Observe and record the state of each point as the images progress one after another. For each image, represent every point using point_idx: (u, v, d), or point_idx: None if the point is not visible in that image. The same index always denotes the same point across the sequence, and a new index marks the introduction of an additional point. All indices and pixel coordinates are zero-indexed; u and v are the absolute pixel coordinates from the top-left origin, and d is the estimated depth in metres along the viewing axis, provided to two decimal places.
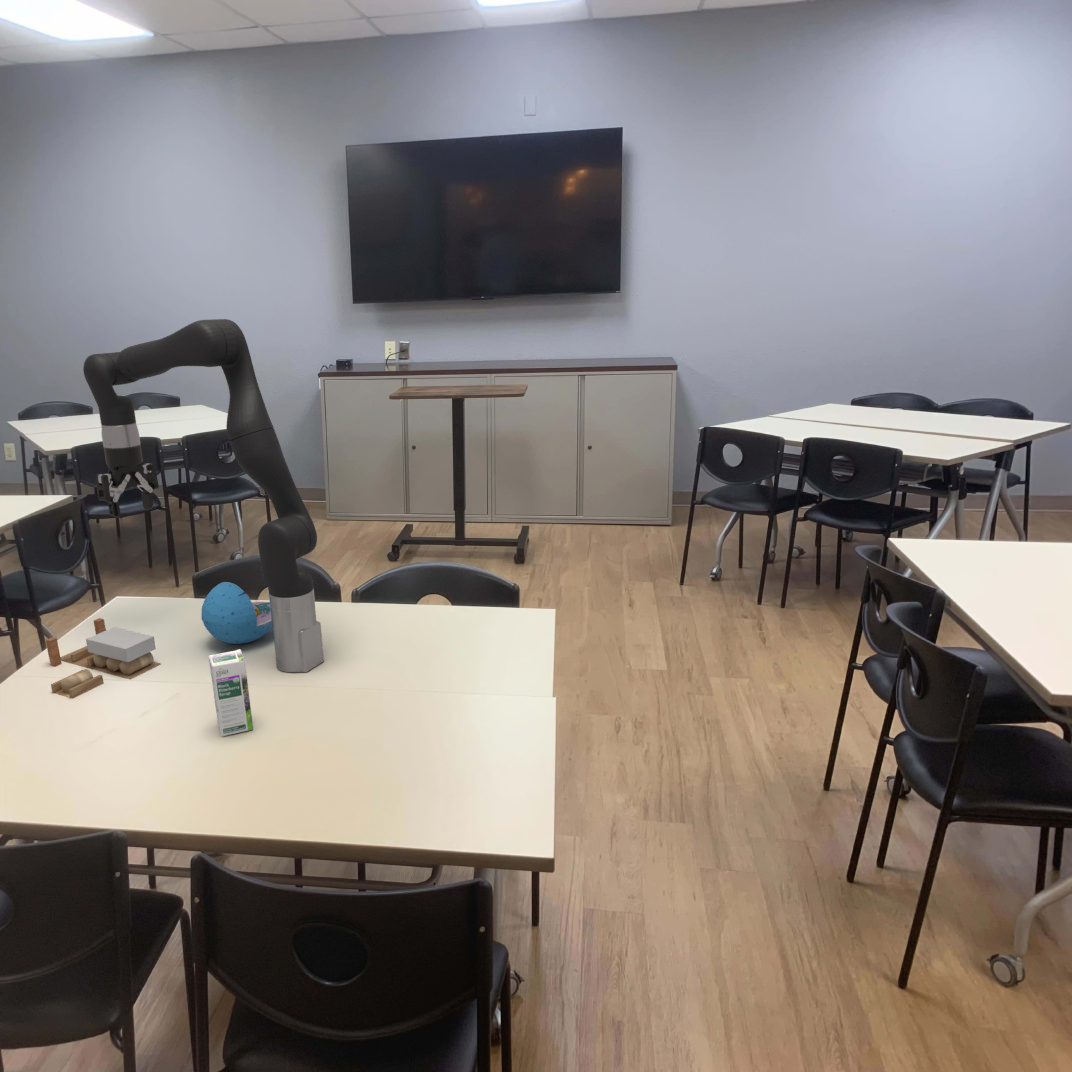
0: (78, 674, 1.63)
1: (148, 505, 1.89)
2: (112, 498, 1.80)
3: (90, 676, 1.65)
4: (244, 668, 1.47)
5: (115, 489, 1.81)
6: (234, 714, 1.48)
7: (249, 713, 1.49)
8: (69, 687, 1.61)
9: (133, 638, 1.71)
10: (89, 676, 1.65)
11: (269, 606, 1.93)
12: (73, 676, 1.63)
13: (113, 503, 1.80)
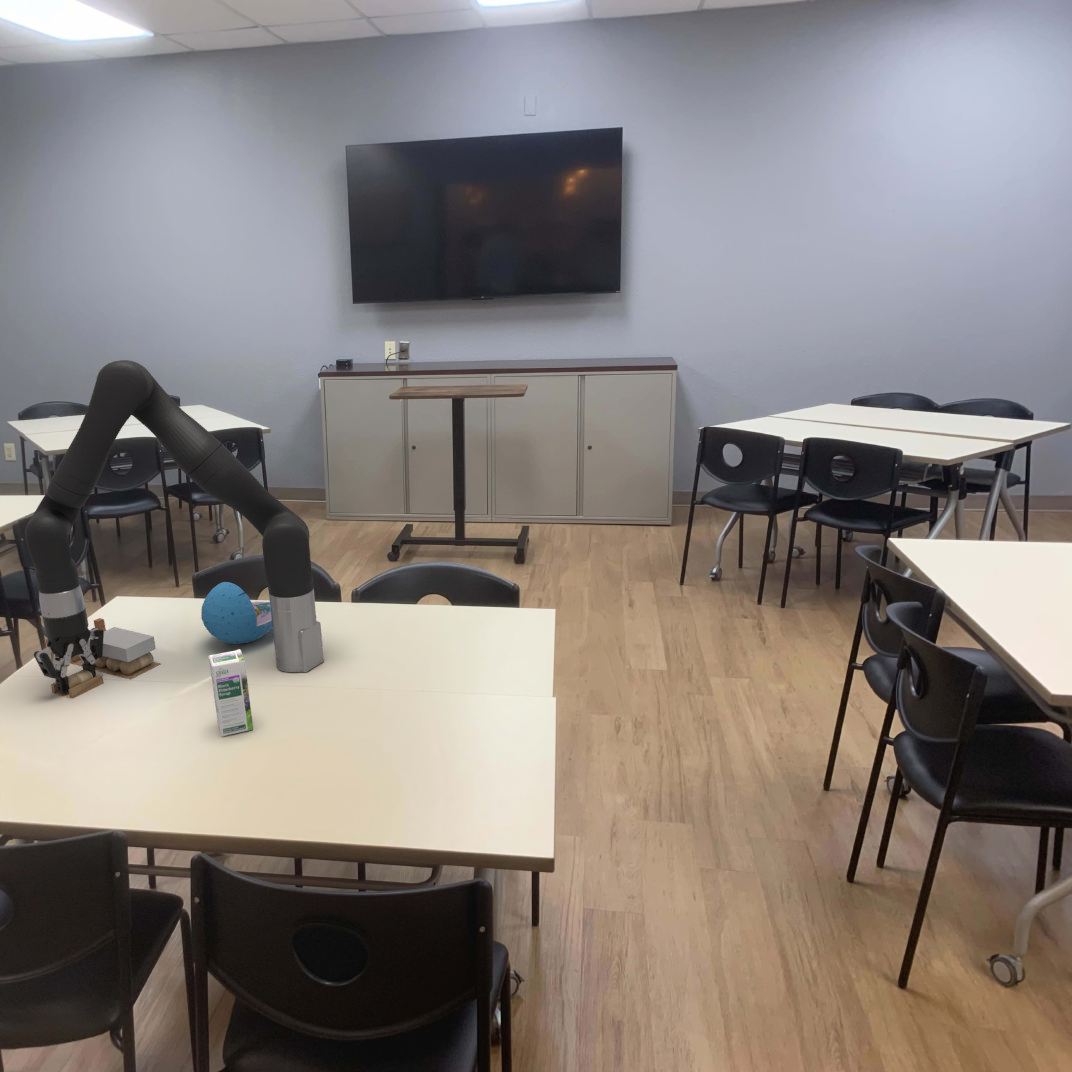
0: (77, 674, 1.63)
1: None
2: (59, 674, 1.59)
3: (90, 676, 1.65)
4: (244, 668, 1.47)
5: (60, 663, 1.59)
6: (234, 714, 1.48)
7: (249, 713, 1.49)
8: (69, 687, 1.61)
9: (133, 638, 1.71)
10: (89, 676, 1.65)
11: (269, 606, 1.93)
12: (73, 676, 1.63)
13: (61, 678, 1.60)
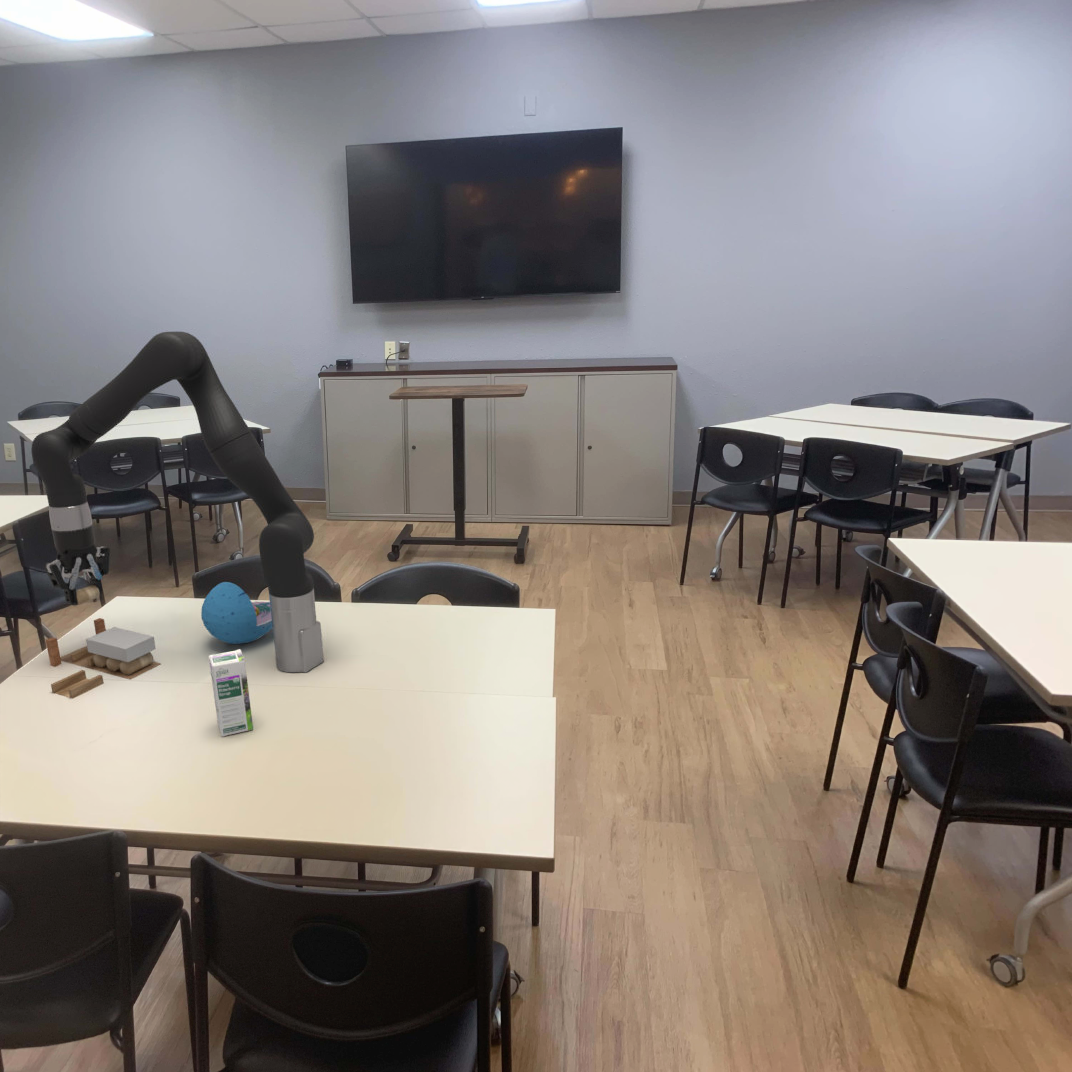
0: (85, 588, 1.73)
1: None
2: (68, 586, 1.68)
3: (96, 591, 1.74)
4: (244, 668, 1.47)
5: (69, 576, 1.68)
6: (234, 714, 1.48)
7: (249, 713, 1.49)
8: (77, 599, 1.70)
9: (133, 638, 1.71)
10: (95, 590, 1.74)
11: (269, 606, 1.93)
12: (80, 590, 1.72)
13: (69, 590, 1.69)
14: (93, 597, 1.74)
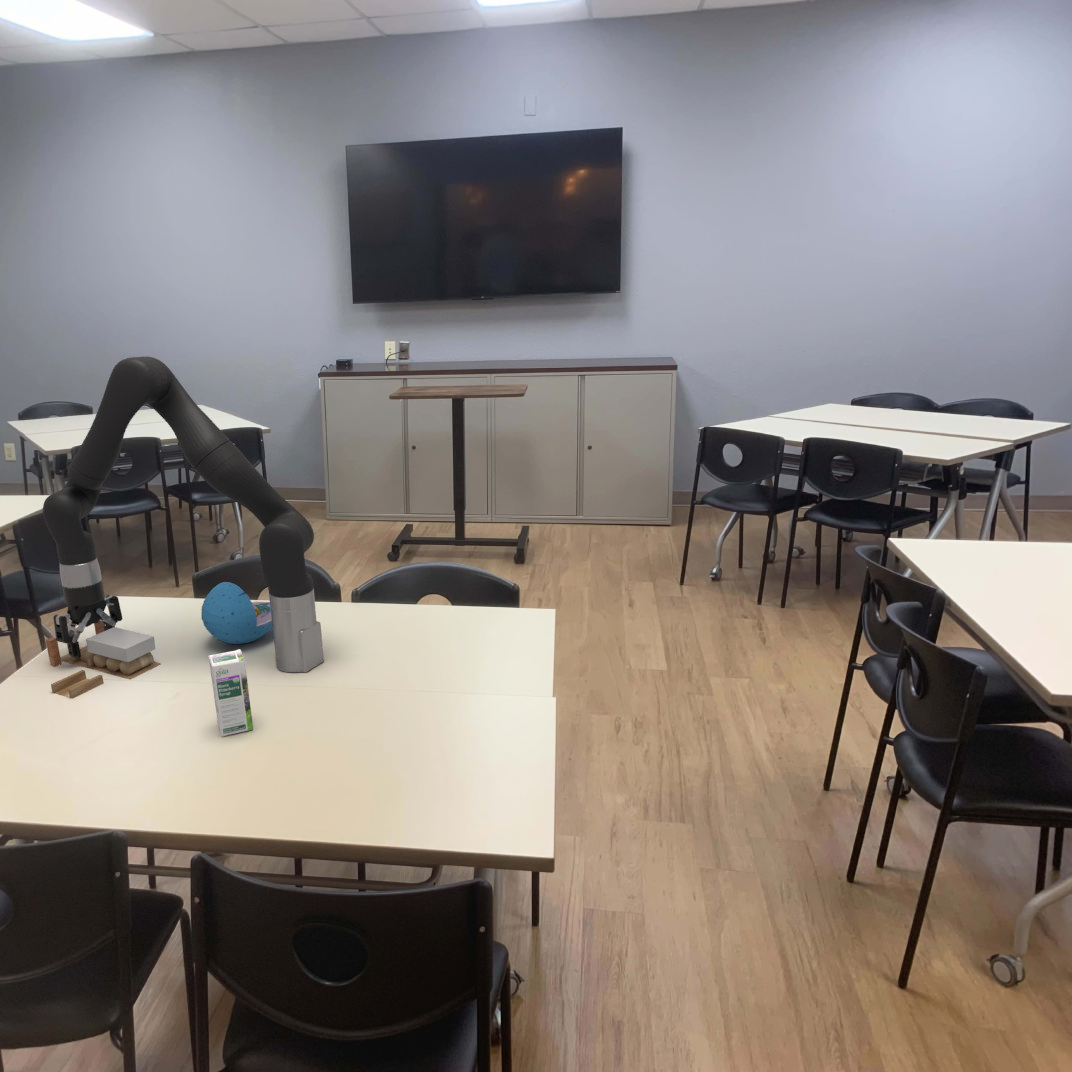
0: None
1: None
2: (71, 639, 1.71)
3: None
4: (244, 668, 1.47)
5: (74, 629, 1.71)
6: (234, 714, 1.48)
7: (249, 713, 1.49)
8: (87, 657, 1.74)
9: (133, 638, 1.71)
10: None
11: (269, 606, 1.93)
12: None
13: (72, 643, 1.71)
14: None
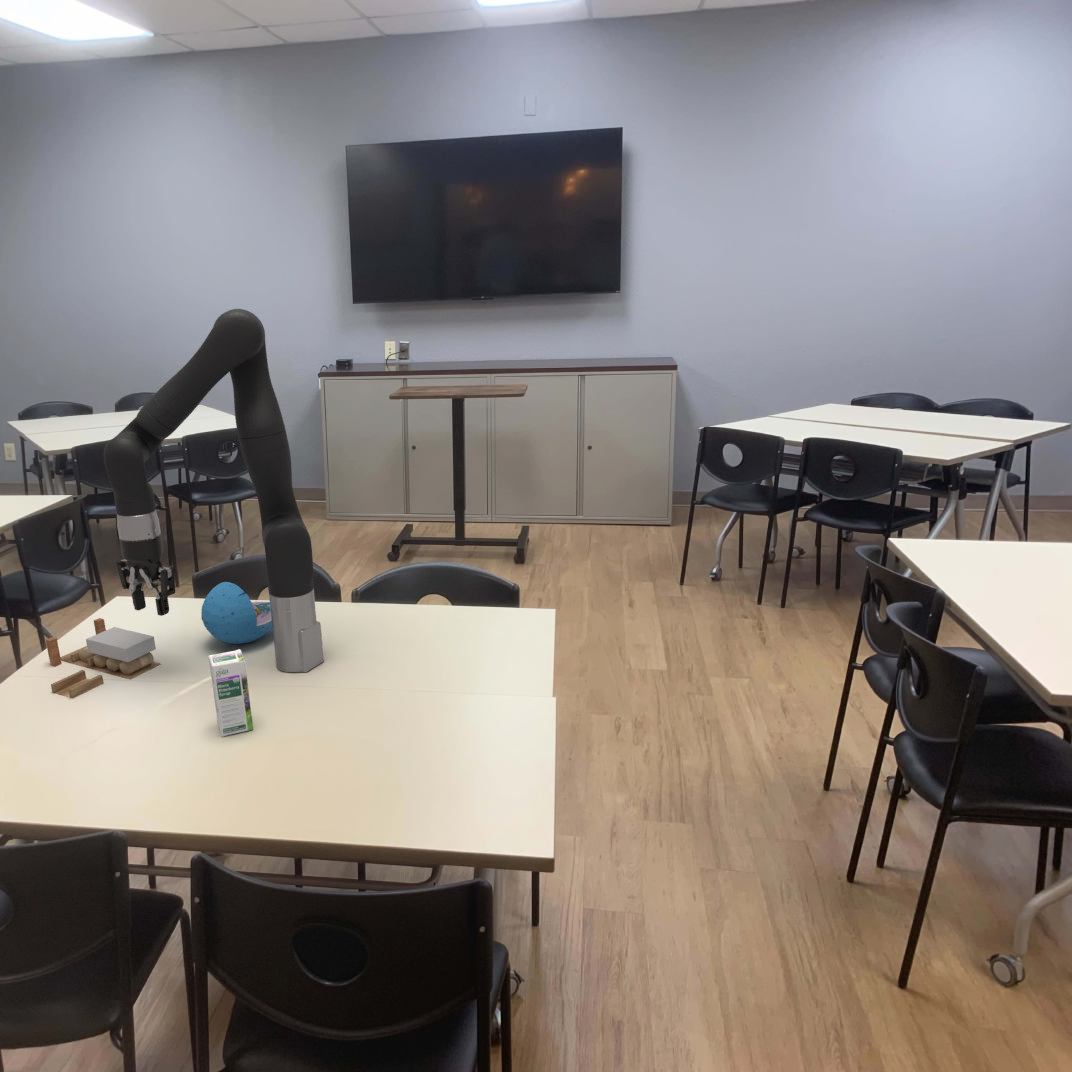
0: None
1: None
2: None
3: None
4: (244, 668, 1.47)
5: None
6: (234, 714, 1.48)
7: (249, 713, 1.49)
8: (86, 656, 1.74)
9: (133, 638, 1.71)
10: None
11: (269, 606, 1.93)
12: None
13: (132, 593, 1.65)
14: None
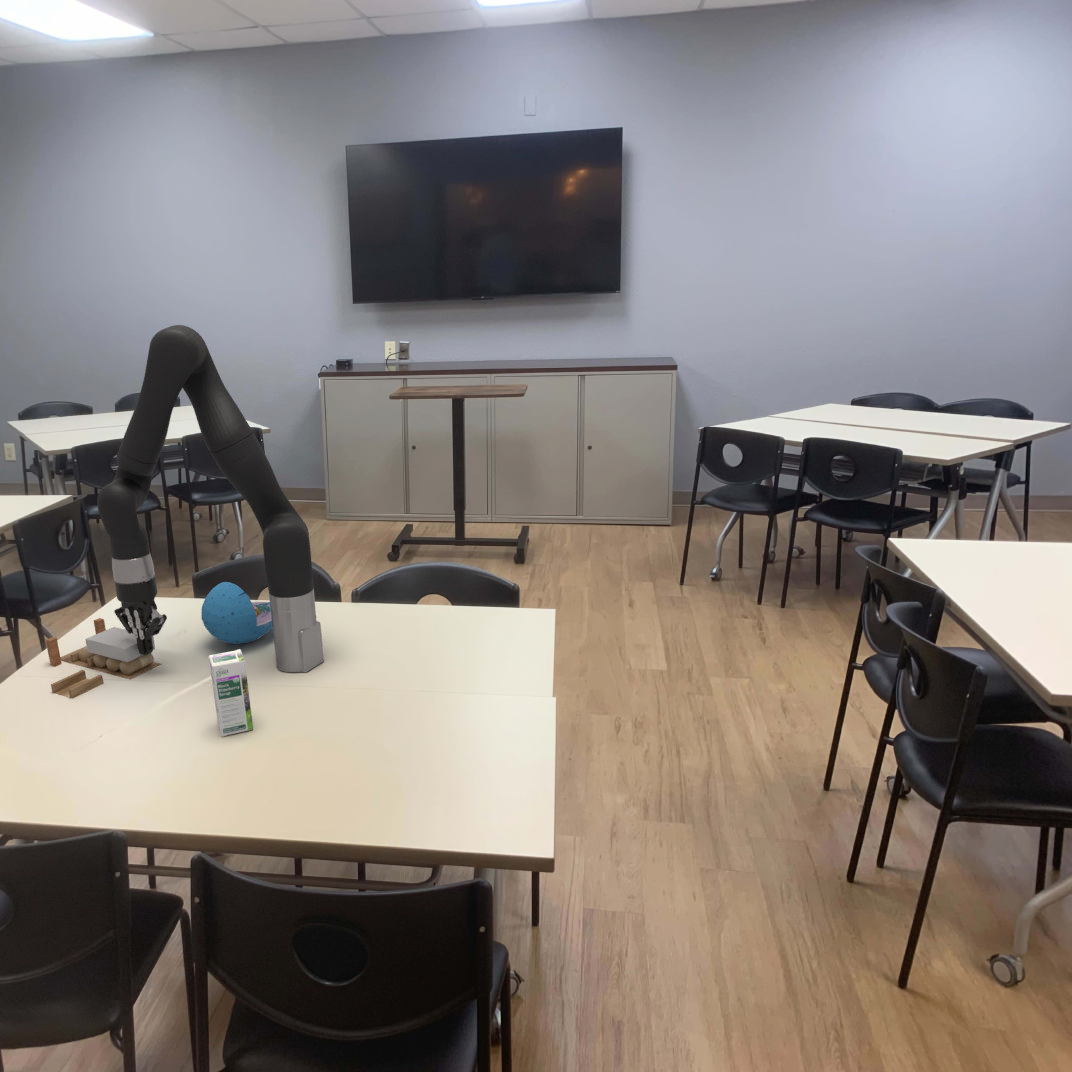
0: None
1: None
2: None
3: None
4: (244, 668, 1.47)
5: None
6: (234, 714, 1.48)
7: (249, 713, 1.49)
8: (85, 655, 1.74)
9: (133, 638, 1.72)
10: None
11: (269, 606, 1.93)
12: None
13: (137, 638, 1.68)
14: None
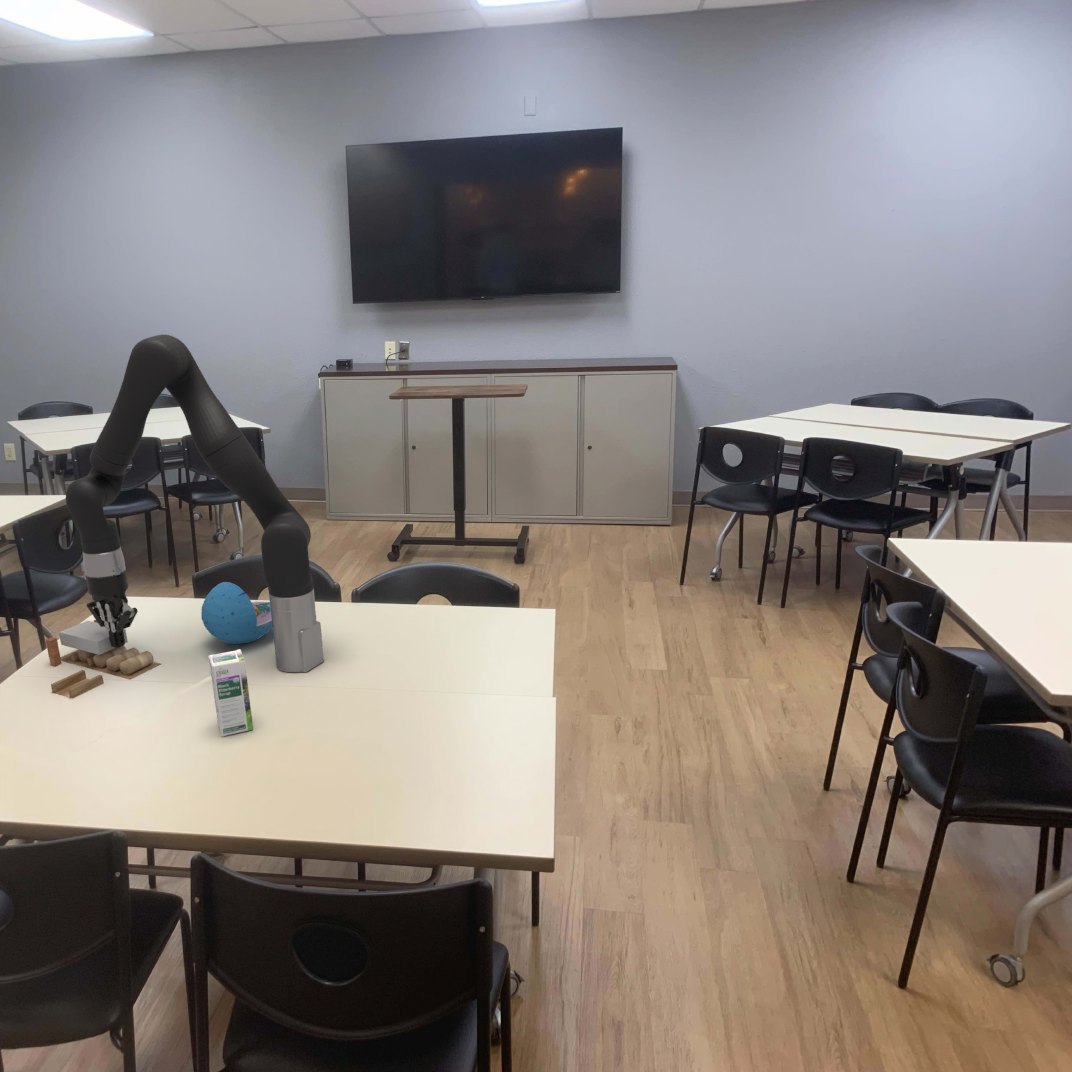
0: None
1: None
2: None
3: None
4: (244, 668, 1.47)
5: None
6: (234, 714, 1.48)
7: (249, 713, 1.49)
8: (85, 654, 1.75)
9: (105, 631, 1.75)
10: None
11: (269, 606, 1.93)
12: None
13: (109, 631, 1.71)
14: None
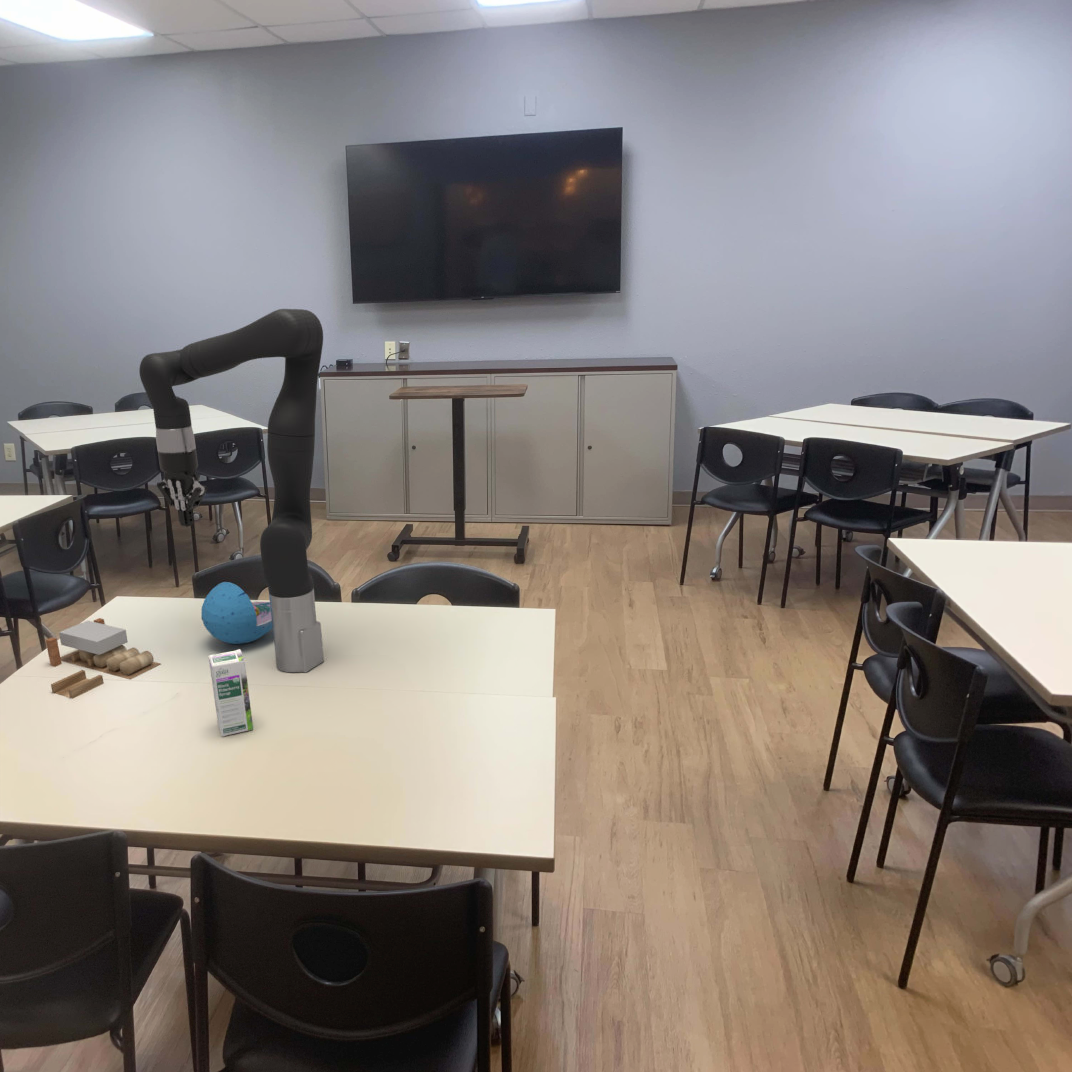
0: None
1: None
2: None
3: None
4: (244, 668, 1.47)
5: None
6: (234, 714, 1.48)
7: (249, 713, 1.49)
8: (87, 656, 1.74)
9: (105, 631, 1.75)
10: None
11: (269, 606, 1.93)
12: None
13: None
14: None
